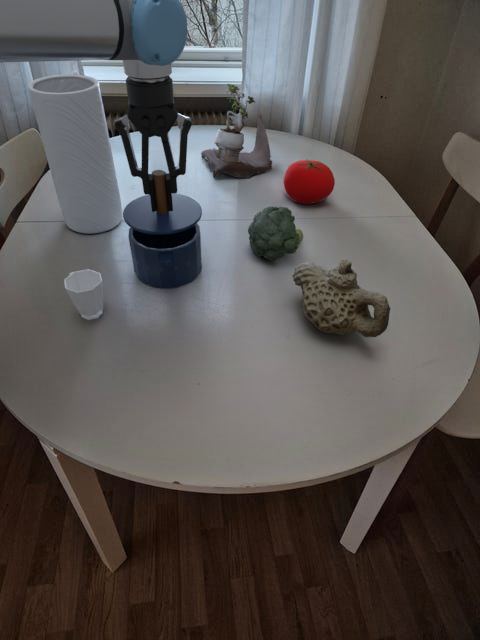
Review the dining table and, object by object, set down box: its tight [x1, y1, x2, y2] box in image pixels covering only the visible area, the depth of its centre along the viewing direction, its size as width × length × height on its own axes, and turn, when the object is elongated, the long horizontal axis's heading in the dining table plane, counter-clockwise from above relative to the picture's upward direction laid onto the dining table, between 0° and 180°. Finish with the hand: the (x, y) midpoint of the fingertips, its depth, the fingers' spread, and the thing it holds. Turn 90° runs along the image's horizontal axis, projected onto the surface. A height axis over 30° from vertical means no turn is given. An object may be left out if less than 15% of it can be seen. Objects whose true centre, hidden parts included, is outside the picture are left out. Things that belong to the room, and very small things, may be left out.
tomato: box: [283, 159, 336, 205], centre depth 118 cm, size 14×13×10 cm
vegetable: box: [247, 205, 304, 262], centre depth 98 cm, size 12×13×15 cm
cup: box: [63, 268, 104, 321], centre depth 82 cm, size 7×10×8 cm
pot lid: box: [122, 169, 203, 235], centre depth 84 cm, size 16×16×9 cm
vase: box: [27, 74, 123, 235], centre depth 98 cm, size 14×14×32 cm
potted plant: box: [200, 82, 273, 180], centre depth 131 cm, size 20×19×25 cm
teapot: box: [292, 258, 391, 338], centre depth 78 cm, size 21×12×15 cm, turn 40°
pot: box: [128, 222, 203, 290], centre depth 92 cm, size 15×20×10 cm
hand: (162, 207), depth 85 cm, fingers closed on pot lid, 3 cm apart
